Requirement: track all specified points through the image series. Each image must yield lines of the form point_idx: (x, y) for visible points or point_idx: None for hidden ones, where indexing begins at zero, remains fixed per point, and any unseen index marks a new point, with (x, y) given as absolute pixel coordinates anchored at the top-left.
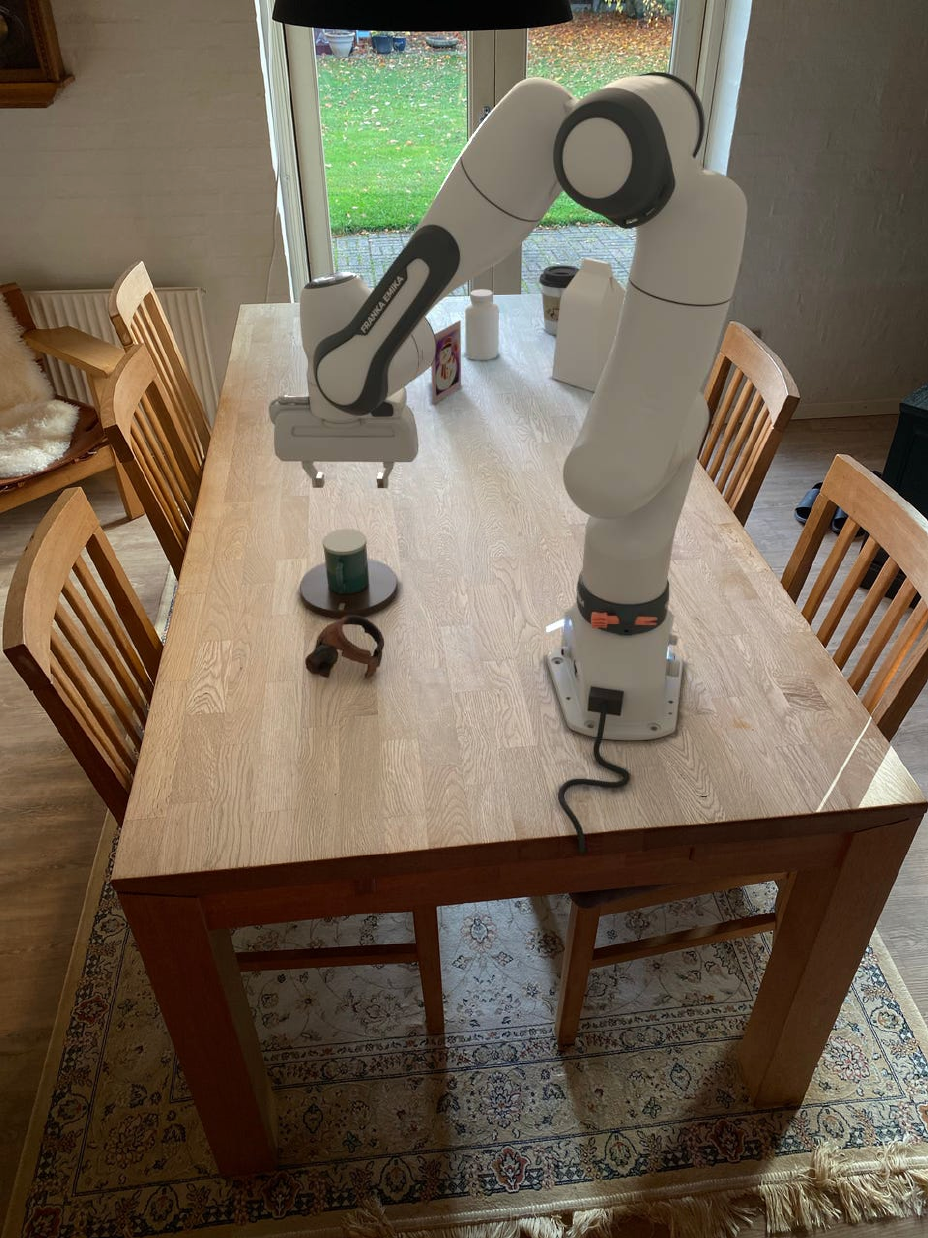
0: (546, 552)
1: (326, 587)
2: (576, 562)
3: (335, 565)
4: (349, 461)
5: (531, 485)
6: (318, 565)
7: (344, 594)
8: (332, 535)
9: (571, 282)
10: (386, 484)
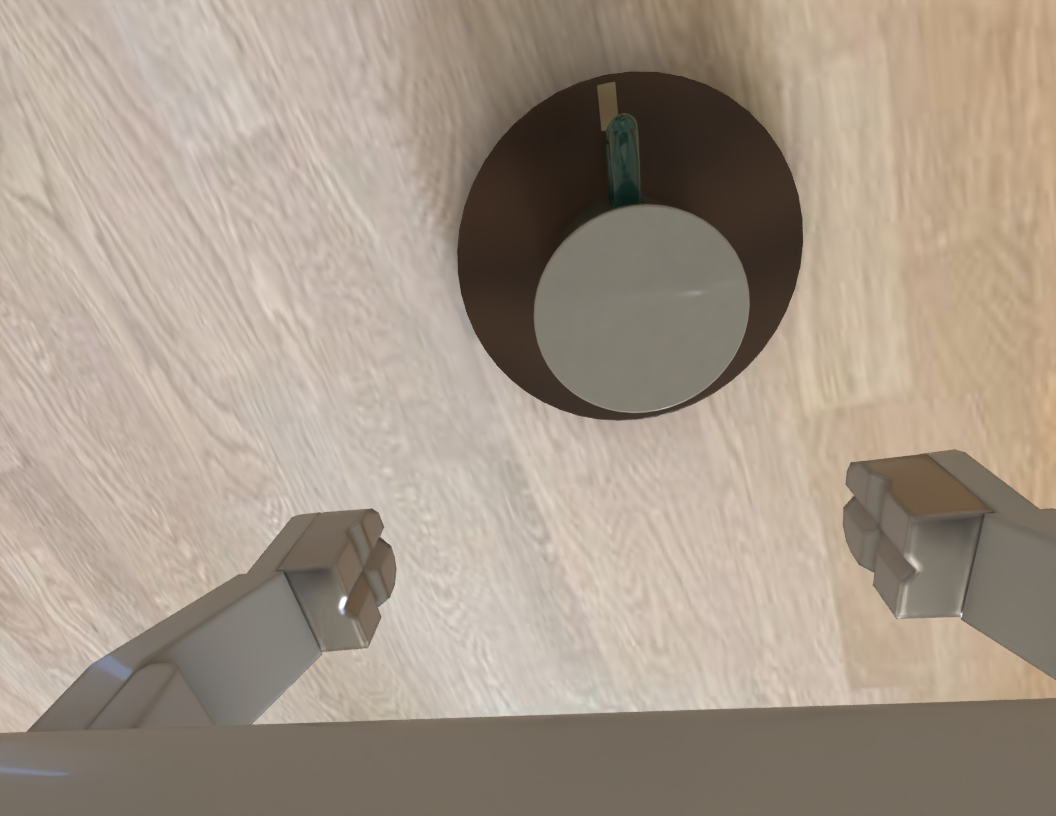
0: (171, 530)
1: None
2: (88, 501)
3: (657, 203)
4: (540, 717)
5: None
6: (755, 353)
7: None
8: (708, 347)
9: None
10: (282, 532)
